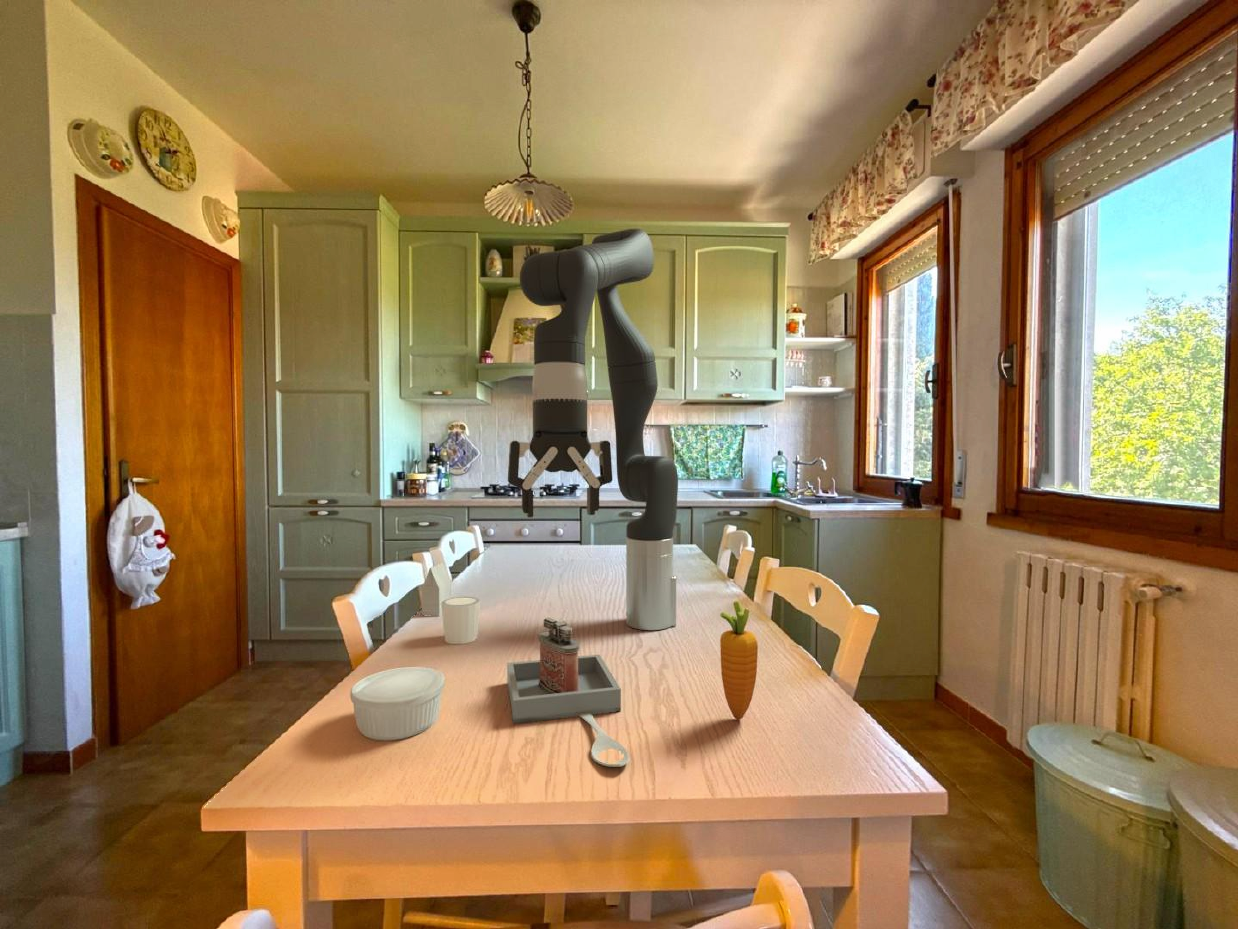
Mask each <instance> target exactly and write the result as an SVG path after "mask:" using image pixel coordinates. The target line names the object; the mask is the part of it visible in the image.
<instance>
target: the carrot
mask: <svg viewBox="0 0 1238 929" xmlns="http://www.w3.org/2000/svg"><path fill="white" fill-rule="evenodd" d="M733 606H734V607H733V608H734V611H735V615H736V616H735V615H729V614H728V613H726V612H721V613H720V615H719V616H720V617H721V618H723V619H725V621H727V623H729V625H730V627H731V629H730V630H726V631H724V632H723V633H722V634H721V635H720V642H719V644H720V669H721V673H720V674H721V680H722V681H721V682H722V687H723V692H724V697H725V701H726V703H727V706H728V709H729V710H730V712H731V714H732V716H733V717H734V719H735V720H736V721H740V720H742V719H743V718H744V717H745V714H746V712H747V711H748V709H749V707H750V705H751V702H752V699H753V696H754V695H753V694H754V691H755V686H756V681H757V670H758V654H759V653H758V651H759V650H758V647H759V646H758V640H757V637H756V635H755V634H754V633H753V632H750V631H748V630H745V628H746V626H747V623H748V620H749V615H750V610H749V609H748V608H747V607H746V608H745V607H744V609H742V605H741V602H740V601H734V602H733ZM743 610H744V611H743Z"/></svg>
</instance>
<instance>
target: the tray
mask: <svg viewBox="0 0 1238 929" xmlns="http://www.w3.org/2000/svg"><path fill="white" fill-rule="evenodd" d="M506 666H507V668H506V671H507V674H506V675H507V676H506V677H507V678H506V680H507V690H508V697H509V701H510V702H509V703H510V710H511V716H512V724H513V725H517V724H525V723H526V724H528V723H533V722H534V723H536V722H542V721H543V722H544V721H551V720H553V721H554V720H559V719H558V718H561V719H569V718H570V719H571V718H577V717H580V715H581V714H585V713H591V714H592V716H595V715H602V713H604V714H610V713H609V712H612V713H617V712H616V711H621V710H622V708H621V707H622V705H621V704H622V700H621V699H622V698H621V696H622V692H621V691H622V690H621V689H622V688H621V687H620V685H619V684H618V682H617V681H616V679H615V678H614V676H613V674H612V672H611V671H610V669H609V667H608V666H607V664H606V663H605V661H604V659H603V658H602V656H601V654H591V655H581V656H580V655H578V691H574V692H564V693H555V694H546V693H544V692H543V691H542V690H541V689H540V688H539V679H540V659H535V660H527V661H526V660H525V661H523V660H522V661H515V662H514V661H513V662H507V664H506ZM594 714H595V715H594Z"/></svg>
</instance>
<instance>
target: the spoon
mask: <svg viewBox="0 0 1238 929" xmlns="http://www.w3.org/2000/svg"><path fill="white" fill-rule="evenodd" d="M579 718H581V719H583V720H584V721H585V722H586V723H588V724H589V725H590V726H591V728H593V730H594V731H595V732H596V734H597V737H596V738H595V740H594V742H593V744H592V747H591V749H590V756H591V758H592V760H593V761H594V762H596V763H598V764H600V765H602V766H605V767H617V768H618V767H623V766H625V765H627V764H629V762H630V759H631V758H630V755H629V753H628V751H627V749H626V748H625V747H624V746H623V745H622V744H621V743H620V742H618V741H617V740H616V739H614V738H612V737H611V736H610V735H608V734H607V733H606V732H605V731H604V730H603V729H602V728H601V727H600V726H599V724H598V722H596V719H595V718H594V715H592V714H591V713H585V714H581V715H580V716H579ZM612 748H613V749H614V750H618V751H621V754H624V757H623V758H622V759H621V761H620V762H618V763H615V764H610V763H605V762H603V761H600V760H601V759H599V758H598V757H597V755H598V754H601V753H600V752H602V750H605V751H606V750H607V749H612Z"/></svg>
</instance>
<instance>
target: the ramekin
mask: <svg viewBox="0 0 1238 929" xmlns="http://www.w3.org/2000/svg"><path fill="white" fill-rule="evenodd" d="M445 680H446V678H445V676H444V675H443V673H442V672H441V671H439V670H436V669H433V668H429V667H423V666H410V667H409V666H408V667H407V666H405V667H398V668H392V669H386V670H383V671H379V672H375V673H373V674H370V675H368V676H366V677H363V678H362V679H360V680H358V681H357V682H355V684H353V685H352V687H351V689H350V691H349V692H350V696H349V697H350V701H351V703H352V705H353V712H354V716H355V722H356V726H357V729H358V731H360V733H361V734H362V735H364V737H366V738H368V739H371V740H375V741H396V740H401V739H402V740H403V739H407V738H410V737H413V736H416V735H418V734H421V733H423V732H425V731H426V730H428V729H429V728H431V726H432V725H433V724H435V721H437V719H438V717H439V716H440V711H441V704H442V696H443V689H444V688H445V685H446V684H445V683H446V682H445Z"/></svg>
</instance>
